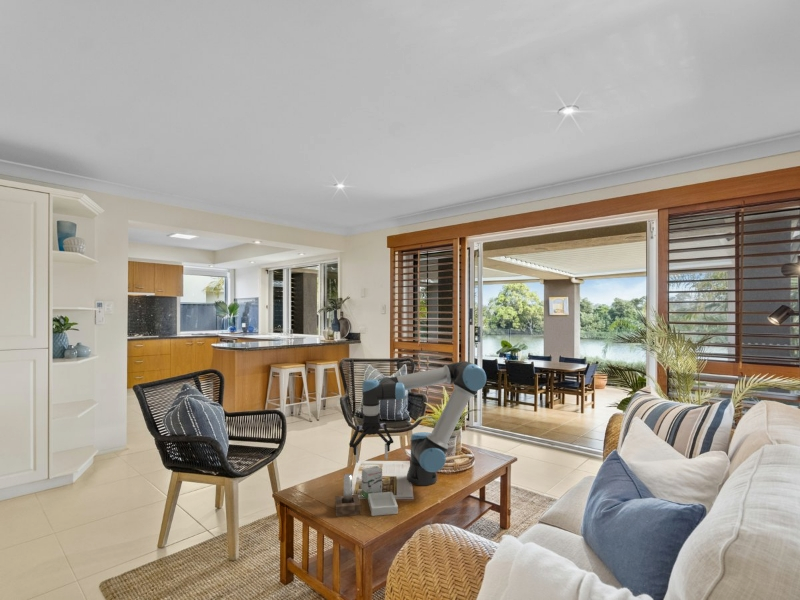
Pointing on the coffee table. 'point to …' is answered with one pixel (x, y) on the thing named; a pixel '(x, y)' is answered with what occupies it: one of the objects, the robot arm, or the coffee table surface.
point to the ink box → (371, 480)
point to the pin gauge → (348, 488)
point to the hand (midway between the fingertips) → (371, 460)
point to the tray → (382, 503)
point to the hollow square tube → (347, 506)
